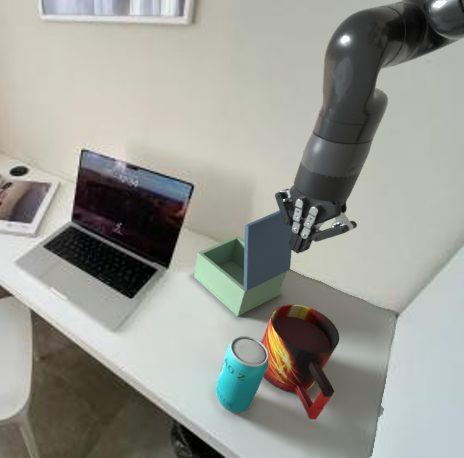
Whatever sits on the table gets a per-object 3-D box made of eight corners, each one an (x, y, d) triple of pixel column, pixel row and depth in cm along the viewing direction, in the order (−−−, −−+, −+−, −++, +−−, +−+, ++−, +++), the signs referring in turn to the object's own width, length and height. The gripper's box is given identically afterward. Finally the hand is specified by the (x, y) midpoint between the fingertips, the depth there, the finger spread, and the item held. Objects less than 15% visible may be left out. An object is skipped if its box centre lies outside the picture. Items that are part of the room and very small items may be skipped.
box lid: (244, 225, 65) (248, 226, 64) (291, 205, 68) (295, 206, 67) (243, 289, 71) (246, 291, 70) (286, 267, 74) (290, 269, 73)
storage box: (193, 276, 86) (197, 252, 81) (231, 259, 89) (237, 235, 84) (237, 316, 76) (244, 291, 71) (278, 295, 79) (287, 270, 74)
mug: (309, 425, 58) (335, 387, 51) (243, 357, 68) (257, 317, 61) (351, 398, 60) (382, 358, 53) (282, 337, 71) (299, 296, 64)
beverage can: (228, 378, 66) (244, 327, 56) (257, 403, 62) (279, 353, 52) (207, 396, 63) (220, 346, 54) (235, 423, 59) (254, 375, 50)
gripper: (397, 172, 49) (349, 264, 59) (308, 140, 59) (280, 223, 69) (360, 189, 47) (317, 281, 57) (274, 152, 57) (251, 236, 67)
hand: (297, 249), depth 63 cm, fingers closed
